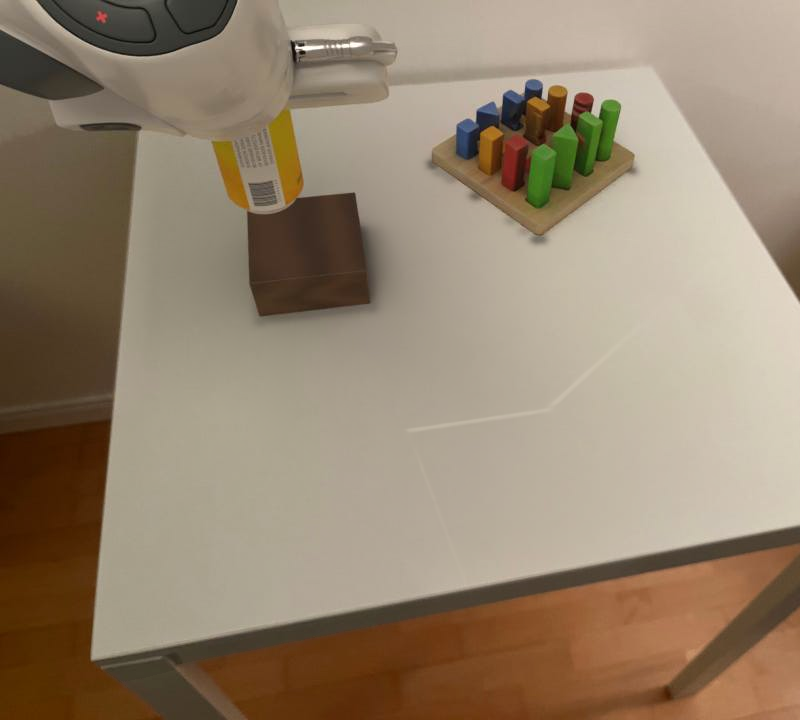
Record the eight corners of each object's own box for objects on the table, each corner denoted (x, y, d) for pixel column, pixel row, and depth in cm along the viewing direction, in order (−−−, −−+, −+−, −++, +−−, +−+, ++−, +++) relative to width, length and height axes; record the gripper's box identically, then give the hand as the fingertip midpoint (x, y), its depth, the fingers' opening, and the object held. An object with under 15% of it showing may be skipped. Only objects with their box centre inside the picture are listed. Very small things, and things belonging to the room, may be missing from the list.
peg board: (527, 99, 95) (535, 38, 88) (634, 166, 89) (651, 106, 82) (429, 160, 88) (429, 97, 81) (538, 237, 81) (548, 177, 74)
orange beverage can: (295, 161, 62) (261, -14, 50) (312, 209, 59) (280, 35, 47) (222, 176, 61) (169, 0, 49) (236, 226, 58) (182, 51, 45)
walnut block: (259, 316, 73) (249, 283, 69) (256, 237, 79) (246, 202, 75) (370, 303, 75) (367, 270, 71) (359, 226, 81) (355, 192, 77)
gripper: (392, -18, 41) (382, 43, 55) (-3, 3, 38) (89, 63, 51) (406, 100, 42) (392, 131, 56) (24, 130, 39) (107, 156, 53)
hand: (244, 99), depth 54 cm, fingers closed on orange beverage can, 6 cm apart
